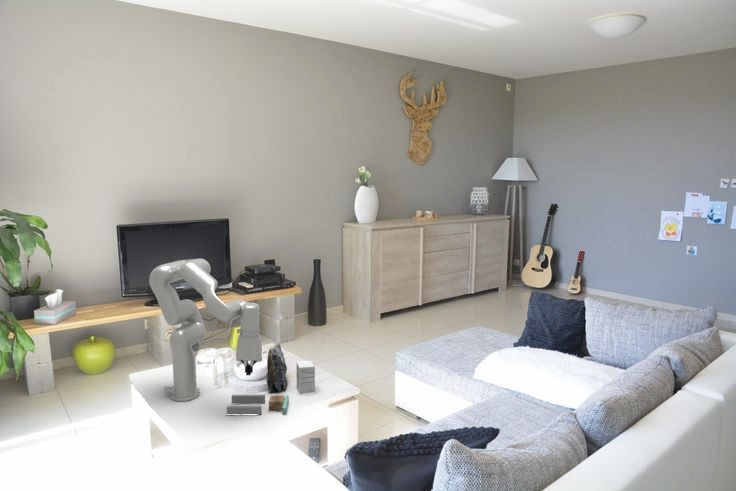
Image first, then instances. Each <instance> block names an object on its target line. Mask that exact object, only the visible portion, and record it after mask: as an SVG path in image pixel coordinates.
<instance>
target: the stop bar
mask: <svg viewBox="0 0 736 491" xmlns="http://www.w3.org/2000/svg"><path fill="white" fill-rule="evenodd" d="M289 396H290V395H289V394H288V395H287V394H284V403H283V407H282V411H281V413H282V416H284V415H285V416H286V415H287V412H288V407H289Z"/></svg>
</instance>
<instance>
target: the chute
mask: <svg viewBox="0 0 736 491" xmlns="http://www.w3.org/2000/svg"><path fill="white" fill-rule="evenodd" d="M232 403H257V404H258V405H226V415H227V414H261V413H263V412H262V410H263V409H262V408H263V407H262V404H265V403H266V394H264V393H263V394H256V393H255V394H253V393H252V394H249V393H247V394H245V393H244V394H232V395H231V404H232ZM259 404H260V405H259ZM261 415H262V414H261Z"/></svg>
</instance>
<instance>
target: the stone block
mask: <svg viewBox="0 0 736 491" xmlns="http://www.w3.org/2000/svg"><path fill="white" fill-rule="evenodd" d="M266 360H267V362H266V367H267V374H266V385H267V387H268V391H269V392H268V394H274V393H275V394H276V393H279V392H283V391H285V390H286V389H287V386H288V379H287V371H288V368H287V366H288V365H287V364H286V359H285V356H284V353H283V351H282V347H281V344H280V342H279V341H277V342H276V343H275V344H274V345H273V346H272V347H270V348H269V349H268V353H267V359H266Z"/></svg>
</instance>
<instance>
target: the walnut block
mask: <svg viewBox="0 0 736 491" xmlns="http://www.w3.org/2000/svg"><path fill="white" fill-rule="evenodd" d="M284 398H285V394H284V395H281V394H279V395H278V394H277V395H275V394H274V395H270V396H269V398H268V399H269V400H268V412H269V411H276V412H282V407H283V403H284Z"/></svg>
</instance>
